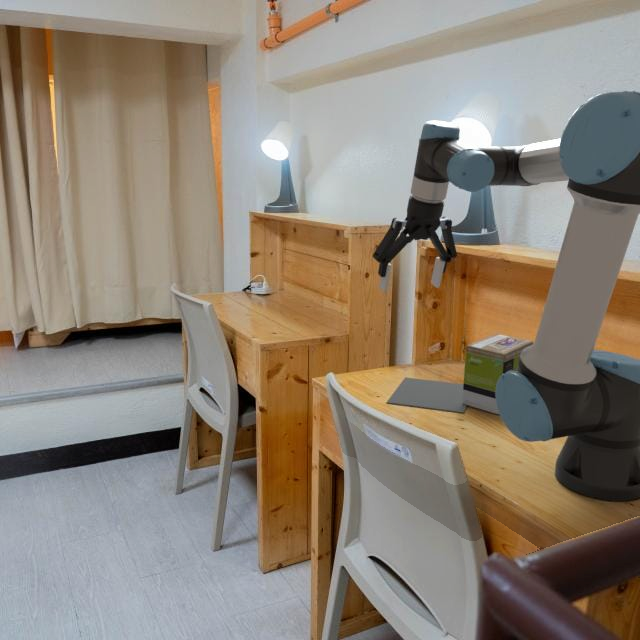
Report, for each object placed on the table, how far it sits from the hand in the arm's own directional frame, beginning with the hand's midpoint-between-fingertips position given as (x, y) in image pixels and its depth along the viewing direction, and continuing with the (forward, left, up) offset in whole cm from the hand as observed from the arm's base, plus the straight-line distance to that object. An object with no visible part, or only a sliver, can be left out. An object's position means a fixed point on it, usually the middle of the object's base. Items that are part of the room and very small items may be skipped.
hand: (409, 287), depth 143 cm
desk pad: (+8, -5, -28) cm, 29 cm away
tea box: (+8, -20, -28) cm, 35 cm away
